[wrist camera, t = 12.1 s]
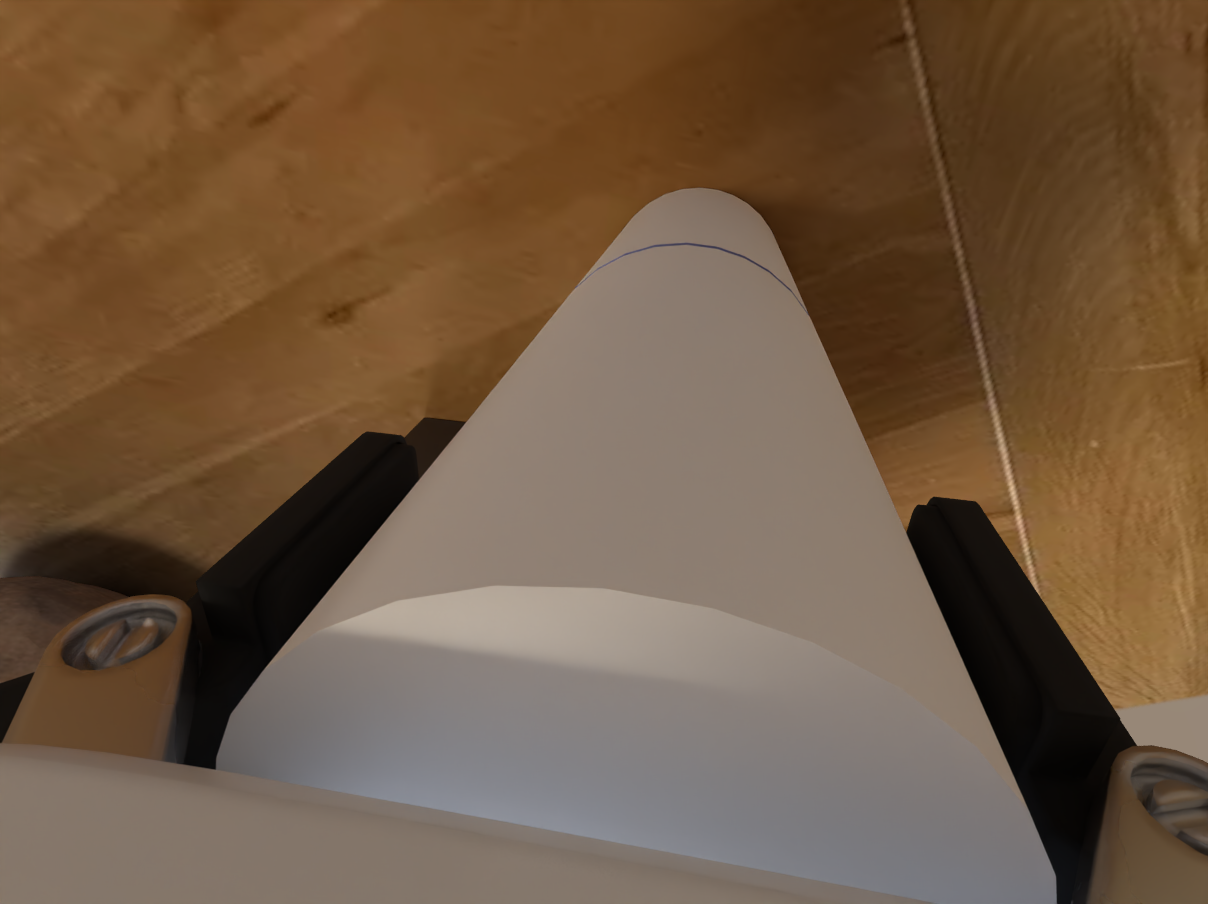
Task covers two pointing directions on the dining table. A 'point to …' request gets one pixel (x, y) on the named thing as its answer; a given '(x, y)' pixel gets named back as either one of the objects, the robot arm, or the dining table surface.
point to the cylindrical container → (661, 605)
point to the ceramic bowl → (40, 617)
